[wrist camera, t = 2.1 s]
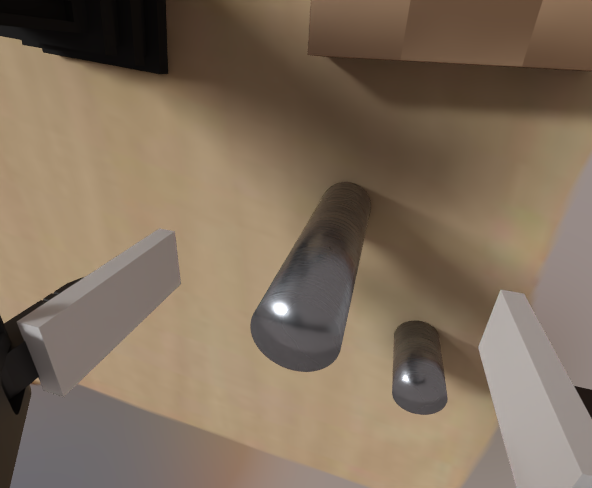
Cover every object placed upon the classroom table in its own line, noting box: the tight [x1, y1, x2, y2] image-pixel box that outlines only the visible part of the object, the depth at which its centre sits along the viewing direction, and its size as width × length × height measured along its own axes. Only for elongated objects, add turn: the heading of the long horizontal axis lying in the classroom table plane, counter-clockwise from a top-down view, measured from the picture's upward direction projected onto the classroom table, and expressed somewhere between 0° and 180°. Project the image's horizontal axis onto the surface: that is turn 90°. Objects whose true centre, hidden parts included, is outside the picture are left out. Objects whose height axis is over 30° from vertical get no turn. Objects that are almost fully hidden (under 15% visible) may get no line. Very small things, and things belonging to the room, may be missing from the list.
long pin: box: [251, 182, 371, 372], centre depth 16 cm, size 3×3×12 cm
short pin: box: [392, 321, 447, 415], centre depth 22 cm, size 3×3×5 cm
